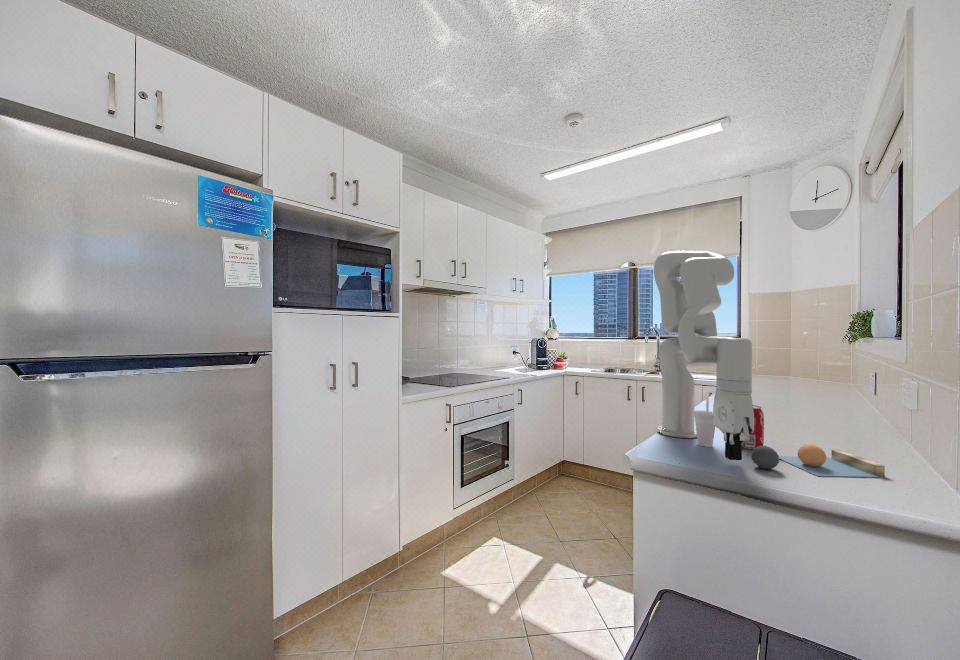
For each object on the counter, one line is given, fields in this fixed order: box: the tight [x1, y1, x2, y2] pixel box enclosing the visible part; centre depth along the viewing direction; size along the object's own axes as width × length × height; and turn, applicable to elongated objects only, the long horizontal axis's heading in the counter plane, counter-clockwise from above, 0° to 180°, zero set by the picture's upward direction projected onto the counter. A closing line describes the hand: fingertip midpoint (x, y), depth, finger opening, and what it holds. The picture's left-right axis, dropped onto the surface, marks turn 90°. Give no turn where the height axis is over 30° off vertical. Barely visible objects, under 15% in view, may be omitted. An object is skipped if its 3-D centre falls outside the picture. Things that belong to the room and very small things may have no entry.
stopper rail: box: [831, 449, 886, 477], centre depth 97 cm, size 12×2×2 cm, turn 178°
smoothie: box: [693, 397, 716, 448], centre depth 115 cm, size 6×6×14 cm
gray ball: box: [751, 445, 780, 470], centre depth 96 cm, size 6×6×6 cm
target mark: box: [778, 455, 881, 479], centre depth 97 cm, size 14×14×1 cm
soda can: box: [742, 404, 765, 450], centre depth 114 cm, size 7×7×12 cm
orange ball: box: [797, 443, 827, 467], centre depth 97 cm, size 6×6×6 cm
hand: (733, 458), depth 98 cm, fingers closed
